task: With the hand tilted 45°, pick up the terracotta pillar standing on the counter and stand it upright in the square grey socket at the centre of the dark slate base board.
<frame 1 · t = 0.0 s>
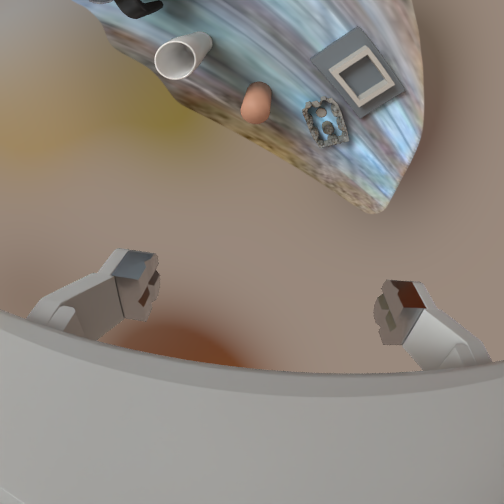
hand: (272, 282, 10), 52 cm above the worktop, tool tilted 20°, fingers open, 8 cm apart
grey rock frame: (324, 117, 56), on the worktop
pillar: (259, 92, 52), on the worktop
drinking glass: (199, 43, 45), on the worktop
base board: (359, 72, 46), on the worktop
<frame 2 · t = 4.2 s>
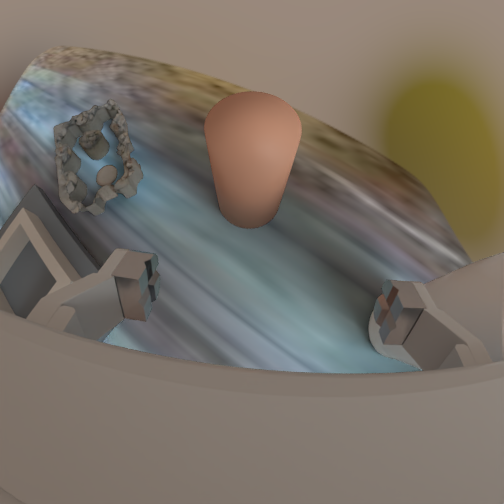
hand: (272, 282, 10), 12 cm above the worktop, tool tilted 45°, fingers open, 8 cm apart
grey rock frame: (103, 165, 25), on the worktop
pillar: (249, 199, 24), on the worktop
drinking glass: (392, 326, 22), on the worktop
base board: (41, 287, 21), on the worktop
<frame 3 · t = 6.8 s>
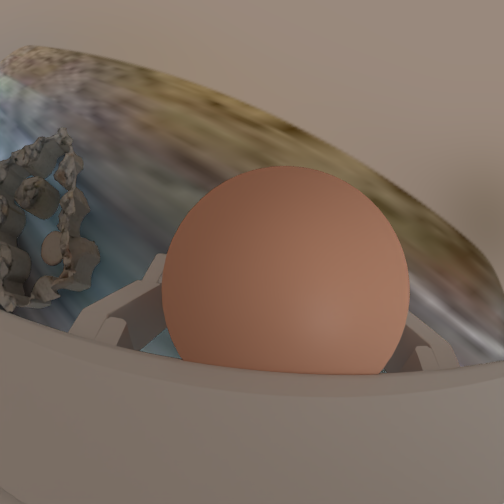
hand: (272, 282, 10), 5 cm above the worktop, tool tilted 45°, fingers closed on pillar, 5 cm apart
grey rock frame: (51, 228, 16), on the worktop
pillar: (261, 306, 15), on the worktop, touching gripper
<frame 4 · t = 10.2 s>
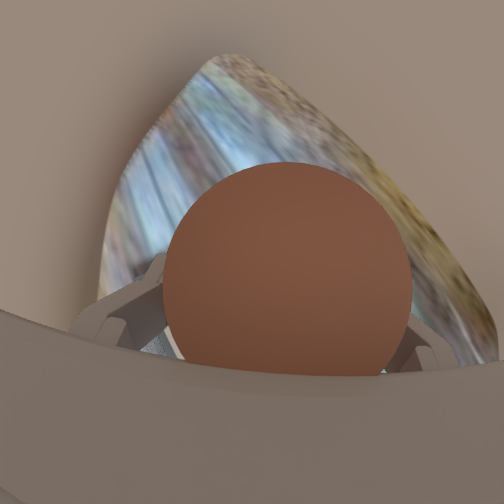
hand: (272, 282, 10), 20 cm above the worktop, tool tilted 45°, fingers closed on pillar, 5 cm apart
pillar: (262, 305, 15), point 15 cm above the worktop, touching gripper
base board: (220, 325, 29), on the worktop
when the fingers open (8 cm above the worktop, at t = 13.8 s): pillar drops 2 cm, resting on base board.
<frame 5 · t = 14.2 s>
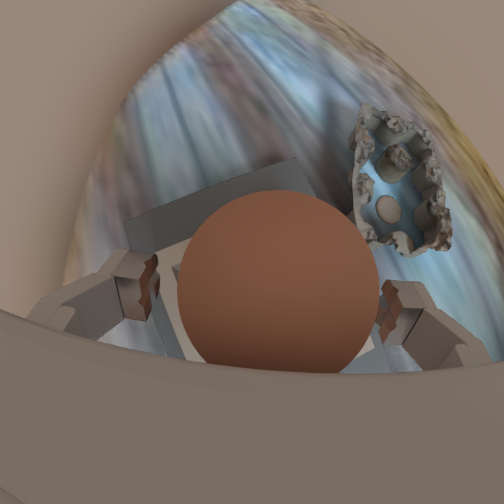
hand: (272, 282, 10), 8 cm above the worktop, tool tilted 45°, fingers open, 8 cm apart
grey rock frame: (384, 191, 21), on the worktop
pillar: (259, 305, 17), point 2 cm above the worktop, touching base board
base board: (258, 308, 18), on the worktop
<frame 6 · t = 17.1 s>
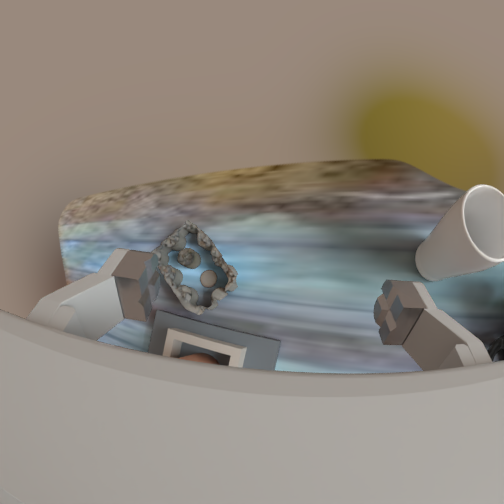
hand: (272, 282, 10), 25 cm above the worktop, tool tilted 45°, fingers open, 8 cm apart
grey rock frame: (200, 271, 38), on the worktop
drinking glass: (431, 261, 32), on the worktop
base board: (207, 371, 34), on the worktop
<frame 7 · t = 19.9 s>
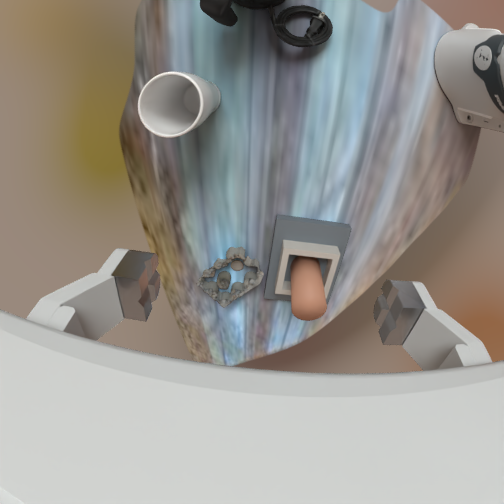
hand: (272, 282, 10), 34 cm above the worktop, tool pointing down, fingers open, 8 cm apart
grey rock frame: (231, 269, 53), on the worktop
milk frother: (278, 1, 28), on the worktop
pillar: (305, 266, 49), point 2 cm above the worktop, touching base board
drinking glass: (203, 97, 37), on the worktop
base board: (304, 261, 50), on the worktop
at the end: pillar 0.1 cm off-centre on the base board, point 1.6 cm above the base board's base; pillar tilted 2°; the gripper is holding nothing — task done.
